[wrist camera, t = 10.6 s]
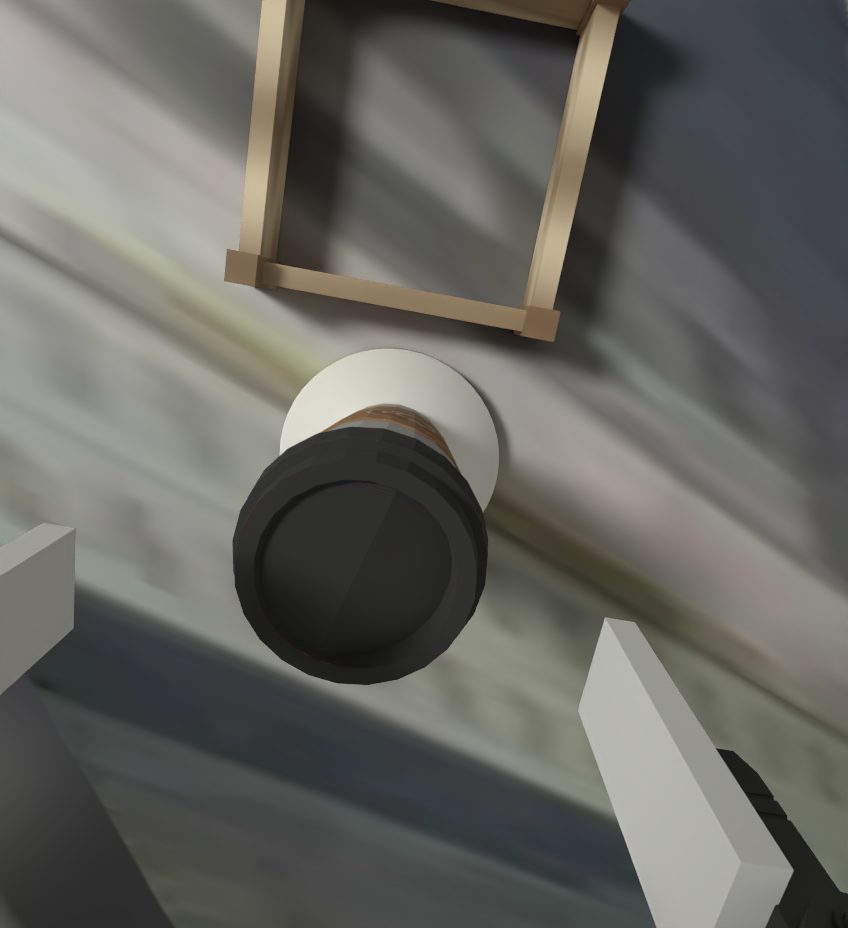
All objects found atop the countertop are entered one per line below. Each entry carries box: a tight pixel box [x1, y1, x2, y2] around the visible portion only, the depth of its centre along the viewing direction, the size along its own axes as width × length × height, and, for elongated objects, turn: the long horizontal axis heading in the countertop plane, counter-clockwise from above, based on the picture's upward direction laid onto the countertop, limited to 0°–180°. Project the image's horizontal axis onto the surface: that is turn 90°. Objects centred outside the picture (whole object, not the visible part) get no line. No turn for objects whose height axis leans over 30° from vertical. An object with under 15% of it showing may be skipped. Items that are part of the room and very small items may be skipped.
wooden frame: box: [224, 0, 630, 342], centre depth 27 cm, size 15×15×4 cm
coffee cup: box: [233, 403, 488, 685], centre depth 25 cm, size 8×8×15 cm
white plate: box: [280, 348, 499, 512], centre depth 32 cm, size 12×12×1 cm
